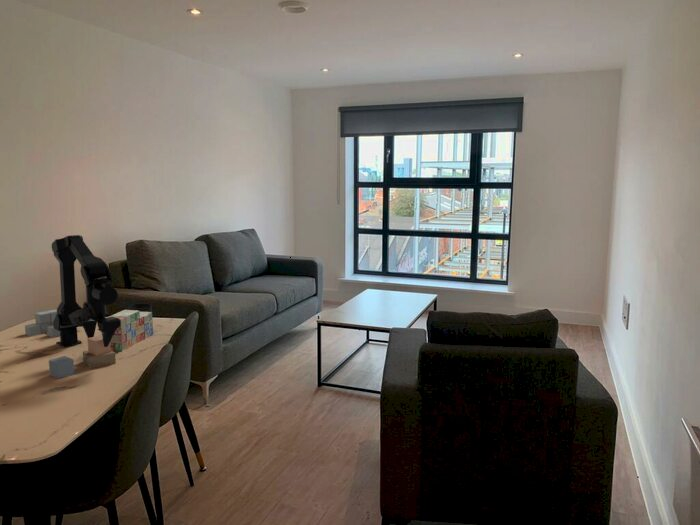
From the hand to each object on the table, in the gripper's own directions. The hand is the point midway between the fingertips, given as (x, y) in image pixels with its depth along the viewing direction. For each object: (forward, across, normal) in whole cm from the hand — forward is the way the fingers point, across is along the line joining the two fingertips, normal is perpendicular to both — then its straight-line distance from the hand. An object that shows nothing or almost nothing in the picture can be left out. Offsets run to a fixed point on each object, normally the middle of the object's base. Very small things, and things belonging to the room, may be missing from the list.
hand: (98, 343), depth 174 cm
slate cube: (+7, +1, -13) cm, 15 cm away
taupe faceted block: (+7, 0, 0) cm, 7 cm away
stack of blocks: (+7, -11, +19) cm, 24 cm away
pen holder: (+7, -23, +31) cm, 39 cm away
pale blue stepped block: (+7, -45, +6) cm, 46 cm away
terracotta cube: (+3, 0, 0) cm, 3 cm away
